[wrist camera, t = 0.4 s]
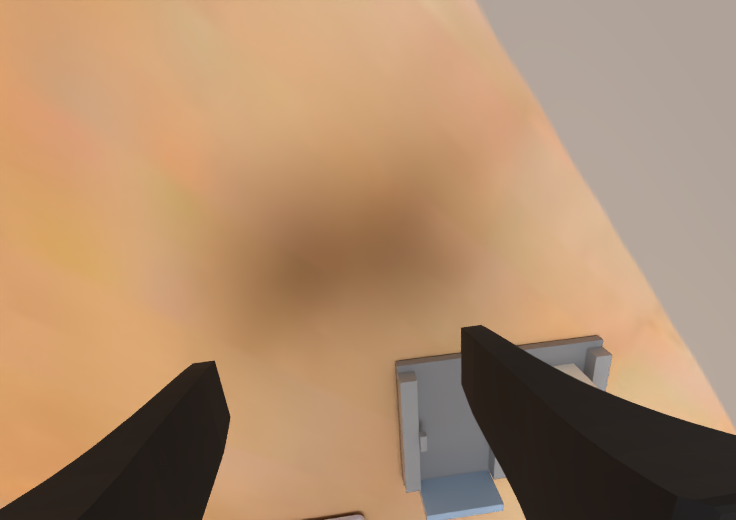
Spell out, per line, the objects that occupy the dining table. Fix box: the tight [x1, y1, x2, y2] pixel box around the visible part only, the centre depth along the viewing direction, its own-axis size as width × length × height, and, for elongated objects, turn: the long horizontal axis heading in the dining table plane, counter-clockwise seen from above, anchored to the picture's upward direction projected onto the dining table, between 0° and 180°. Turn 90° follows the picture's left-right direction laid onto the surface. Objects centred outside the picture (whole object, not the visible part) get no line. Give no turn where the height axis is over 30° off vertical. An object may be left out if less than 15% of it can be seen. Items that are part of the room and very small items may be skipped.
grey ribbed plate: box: [396, 336, 612, 520], centre depth 24 cm, size 10×13×3 cm
